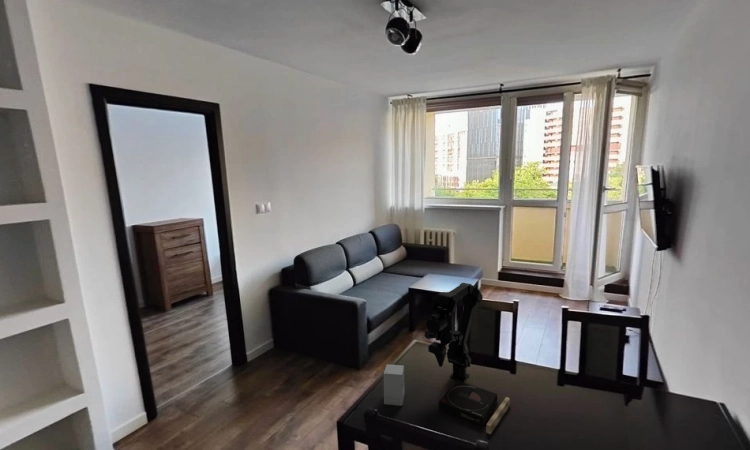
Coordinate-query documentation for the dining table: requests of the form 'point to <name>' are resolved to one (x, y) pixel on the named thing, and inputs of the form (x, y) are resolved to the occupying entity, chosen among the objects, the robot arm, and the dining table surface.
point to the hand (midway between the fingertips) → (446, 361)
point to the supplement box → (394, 385)
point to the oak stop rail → (498, 415)
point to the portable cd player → (468, 403)
